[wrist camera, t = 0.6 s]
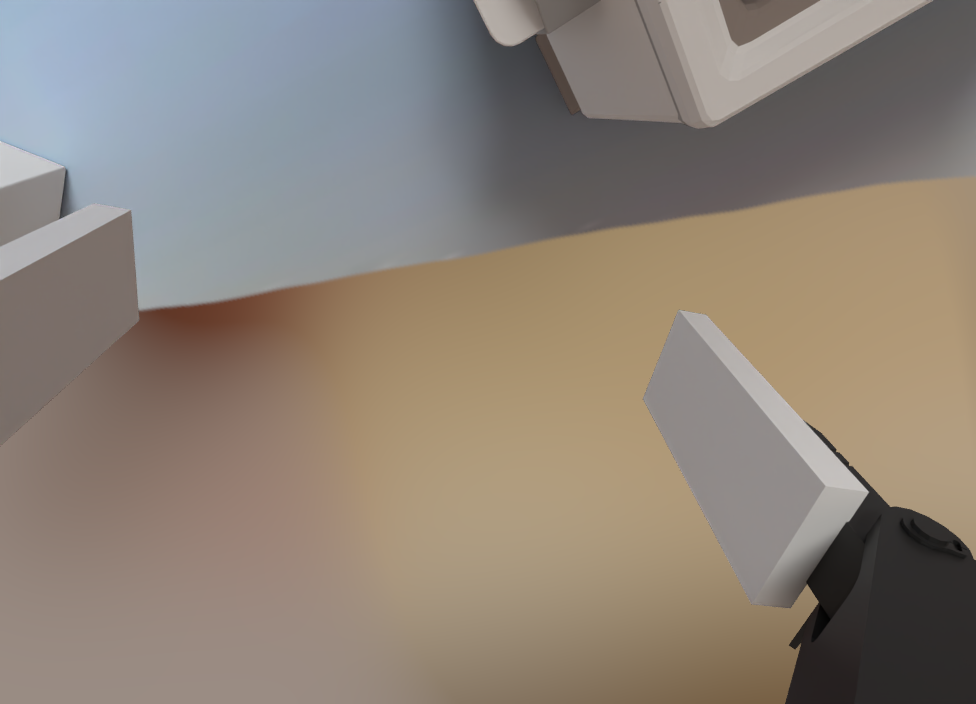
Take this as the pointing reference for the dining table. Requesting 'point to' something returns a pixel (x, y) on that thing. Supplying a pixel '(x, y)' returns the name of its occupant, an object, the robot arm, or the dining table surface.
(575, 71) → the toaster
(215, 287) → the dining table surface
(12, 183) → the milk carton
